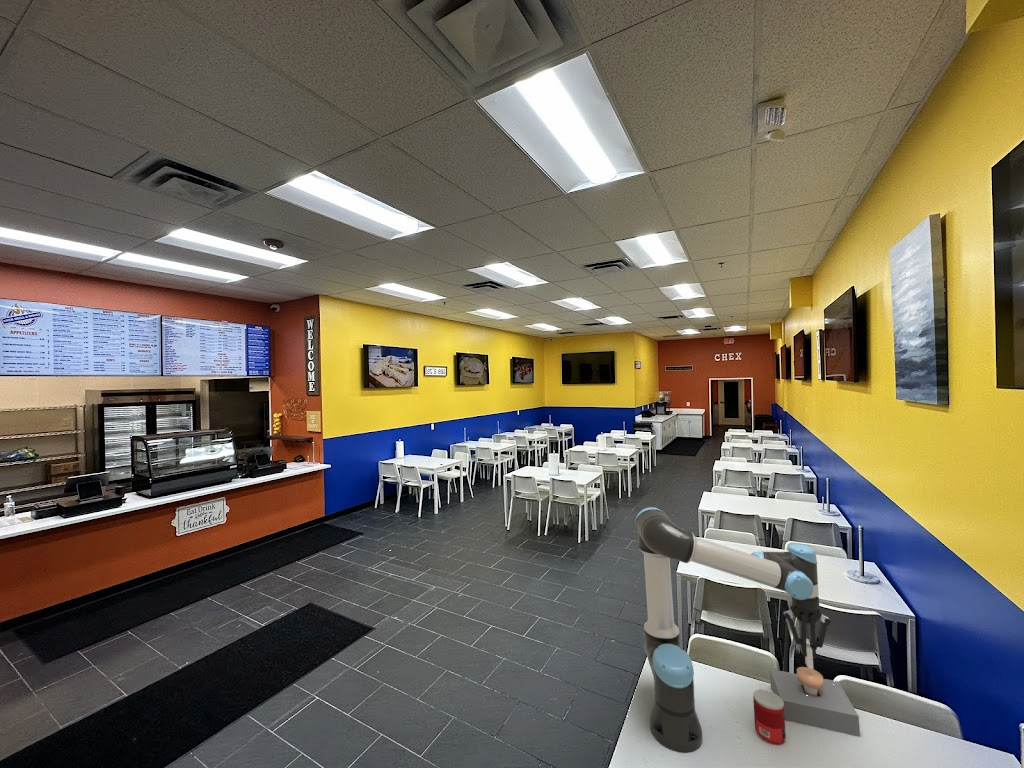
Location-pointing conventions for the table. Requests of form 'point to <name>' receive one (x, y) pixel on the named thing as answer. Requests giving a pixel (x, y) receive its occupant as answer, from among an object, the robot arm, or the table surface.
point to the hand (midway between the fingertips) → (809, 666)
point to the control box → (815, 704)
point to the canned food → (769, 716)
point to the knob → (810, 680)
